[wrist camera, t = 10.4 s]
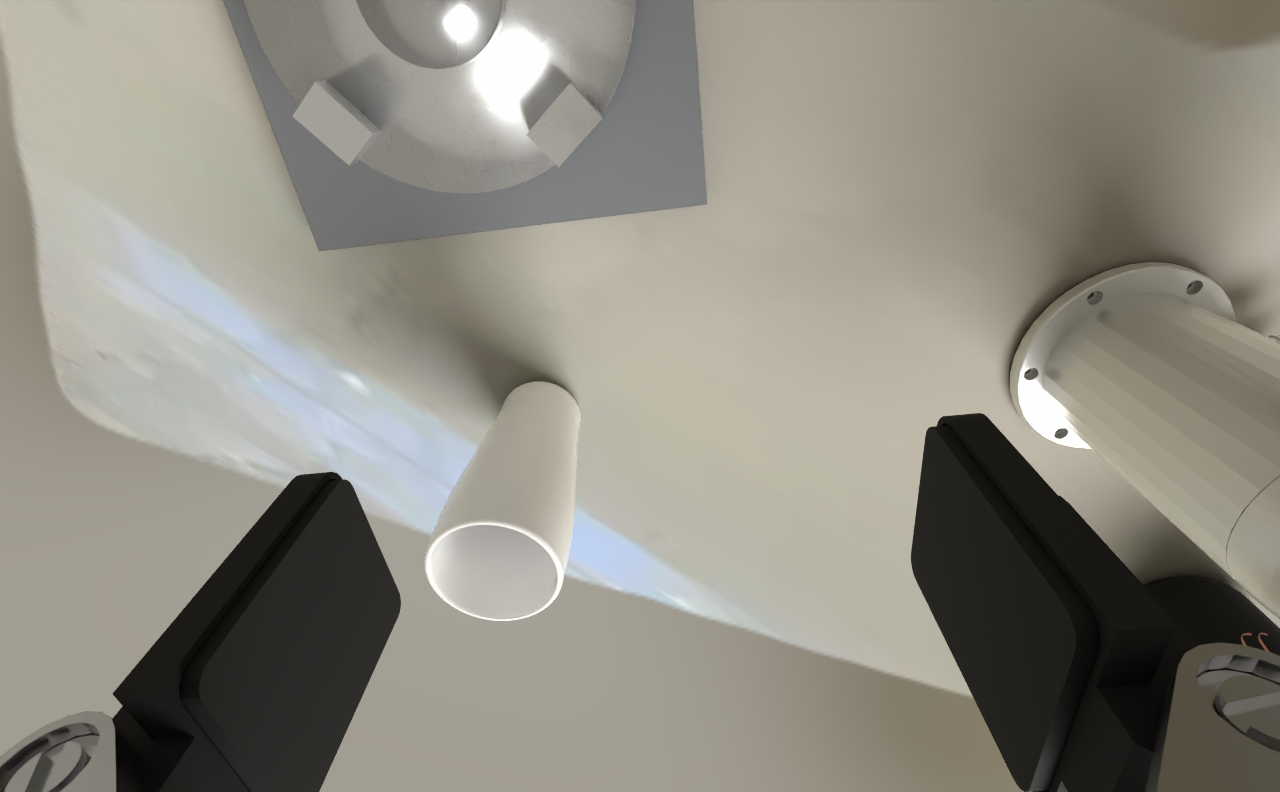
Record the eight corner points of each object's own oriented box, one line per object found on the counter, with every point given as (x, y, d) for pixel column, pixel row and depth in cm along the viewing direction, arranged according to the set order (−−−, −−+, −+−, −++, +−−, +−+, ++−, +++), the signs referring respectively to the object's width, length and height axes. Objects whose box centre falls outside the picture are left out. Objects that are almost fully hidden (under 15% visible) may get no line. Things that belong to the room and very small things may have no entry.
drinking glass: (598, 449, 44) (574, 620, 31) (504, 455, 44) (441, 626, 31) (585, 363, 40) (551, 514, 27) (483, 371, 41) (403, 523, 28)
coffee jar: (1262, 572, 48) (1555, 825, 33) (1196, 662, 53) (1421, 917, 38) (1126, 566, 48) (1353, 816, 32) (1073, 656, 53) (1247, 910, 38)
